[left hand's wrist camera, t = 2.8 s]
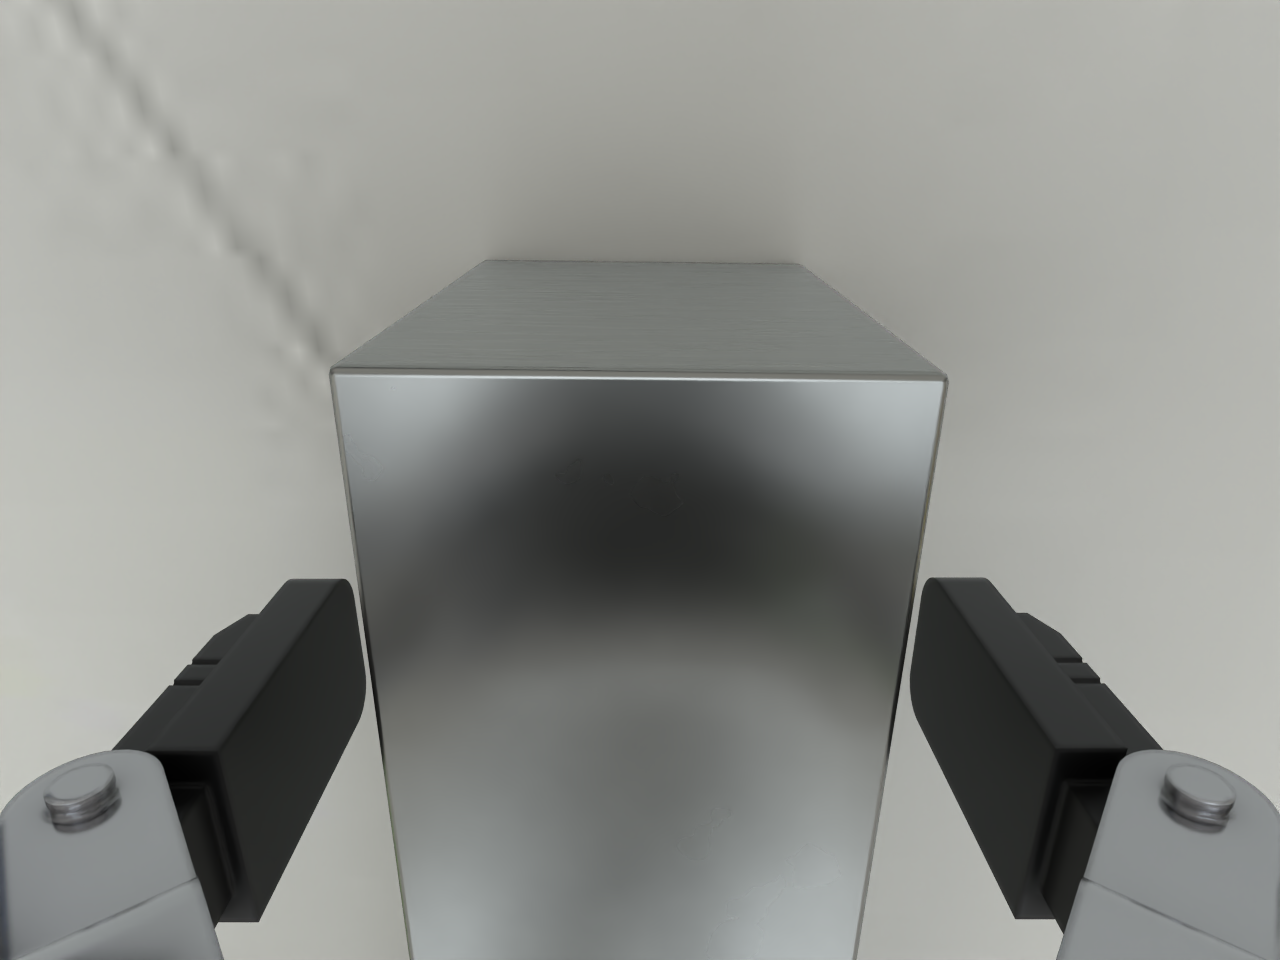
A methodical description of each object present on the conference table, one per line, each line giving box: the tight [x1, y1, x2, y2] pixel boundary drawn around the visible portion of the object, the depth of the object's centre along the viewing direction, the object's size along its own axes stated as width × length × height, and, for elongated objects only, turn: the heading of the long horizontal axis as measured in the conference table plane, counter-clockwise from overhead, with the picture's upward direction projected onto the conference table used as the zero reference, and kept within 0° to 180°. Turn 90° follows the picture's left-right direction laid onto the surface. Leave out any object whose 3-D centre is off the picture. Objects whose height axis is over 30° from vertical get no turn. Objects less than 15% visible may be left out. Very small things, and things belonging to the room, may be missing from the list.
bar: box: [329, 260, 949, 960], centre depth 16 cm, size 24×6×8 cm, turn 179°
